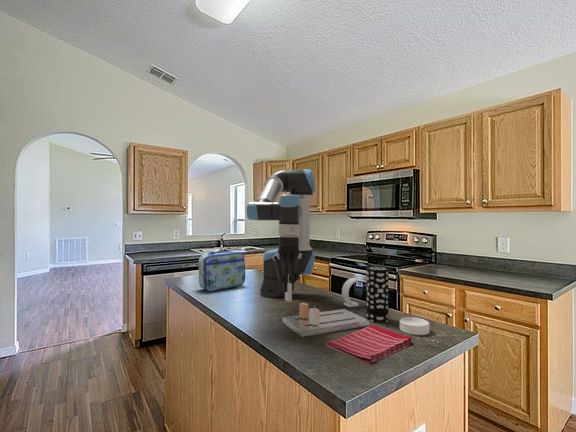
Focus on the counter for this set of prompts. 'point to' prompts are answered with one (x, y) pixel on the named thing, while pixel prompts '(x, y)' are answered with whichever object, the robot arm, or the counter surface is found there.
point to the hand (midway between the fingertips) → (288, 300)
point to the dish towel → (370, 344)
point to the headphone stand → (346, 292)
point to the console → (326, 322)
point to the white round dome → (414, 326)
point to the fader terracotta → (303, 310)
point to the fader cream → (314, 316)
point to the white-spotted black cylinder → (377, 294)
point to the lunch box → (221, 270)
